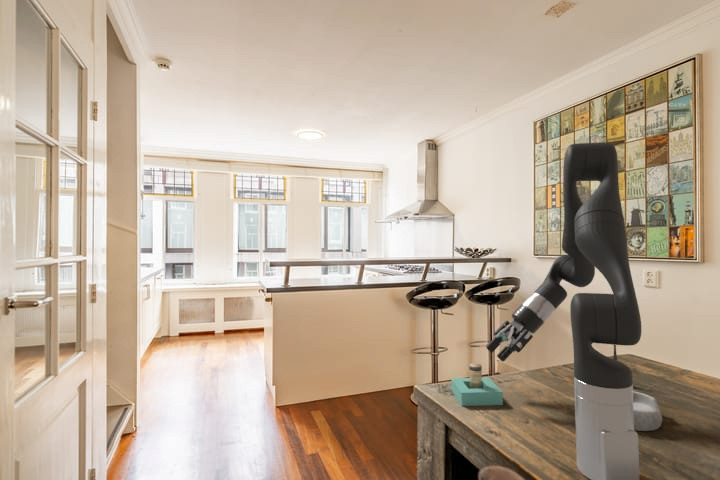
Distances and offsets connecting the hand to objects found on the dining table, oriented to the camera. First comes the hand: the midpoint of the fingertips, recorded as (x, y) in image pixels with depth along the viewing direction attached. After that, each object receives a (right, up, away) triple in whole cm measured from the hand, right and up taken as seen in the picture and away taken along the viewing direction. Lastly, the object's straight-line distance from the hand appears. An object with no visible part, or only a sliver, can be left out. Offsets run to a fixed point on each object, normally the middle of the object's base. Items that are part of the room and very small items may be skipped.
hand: (494, 354), depth 106 cm
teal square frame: (-5, -12, 0) cm, 13 cm away
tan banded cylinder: (-5, -12, 0) cm, 13 cm away
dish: (+27, -11, -15) cm, 33 cm away
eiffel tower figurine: (+39, -12, +7) cm, 41 cm away
